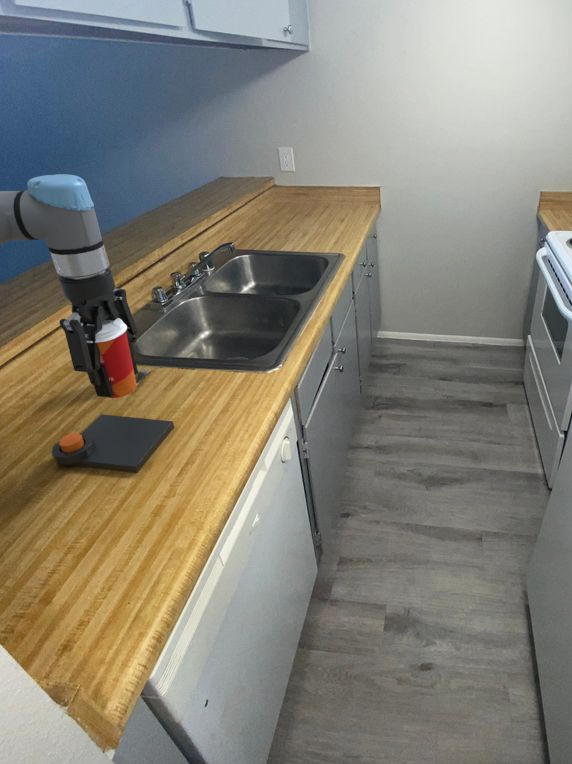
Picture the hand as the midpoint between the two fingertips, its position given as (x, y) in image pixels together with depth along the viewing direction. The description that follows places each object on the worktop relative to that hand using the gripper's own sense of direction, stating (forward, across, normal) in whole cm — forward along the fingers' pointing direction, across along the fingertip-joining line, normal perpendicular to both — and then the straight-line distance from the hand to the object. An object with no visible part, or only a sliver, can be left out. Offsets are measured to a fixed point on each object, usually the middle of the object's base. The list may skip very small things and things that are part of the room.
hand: (118, 383), depth 89 cm
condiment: (+15, -20, -15) cm, 29 cm away
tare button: (+11, +6, -8) cm, 15 cm away
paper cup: (+2, 0, 0) cm, 2 cm away
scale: (+14, +1, -3) cm, 15 cm away
